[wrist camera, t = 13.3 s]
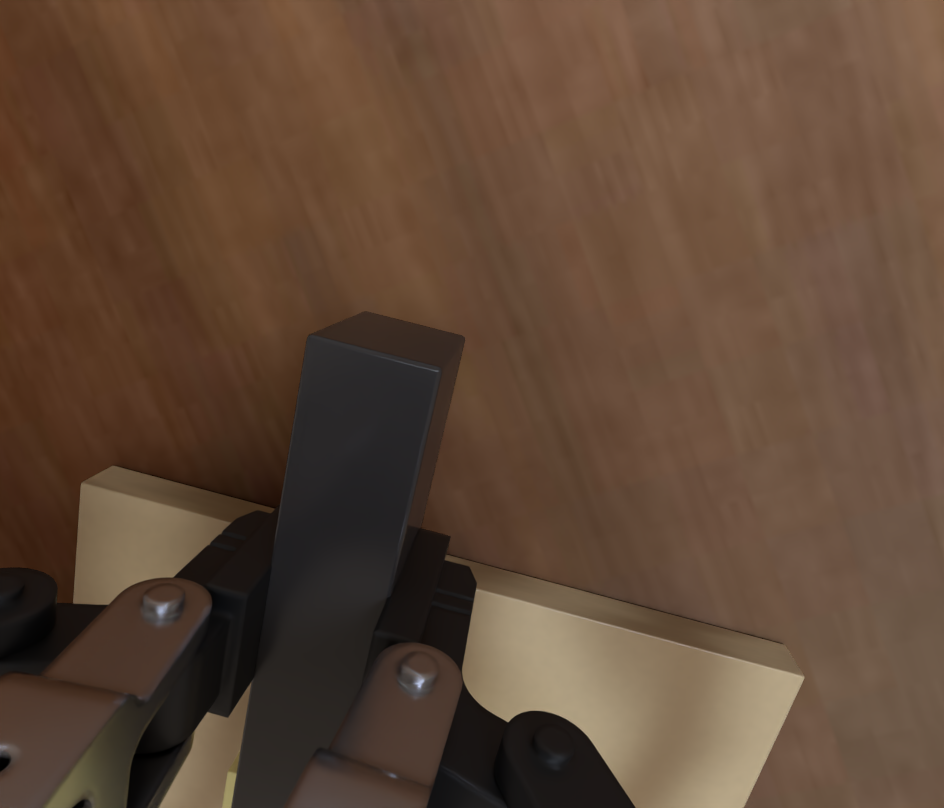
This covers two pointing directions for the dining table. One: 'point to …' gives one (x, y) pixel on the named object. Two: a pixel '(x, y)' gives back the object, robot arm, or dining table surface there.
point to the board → (498, 657)
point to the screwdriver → (341, 533)
